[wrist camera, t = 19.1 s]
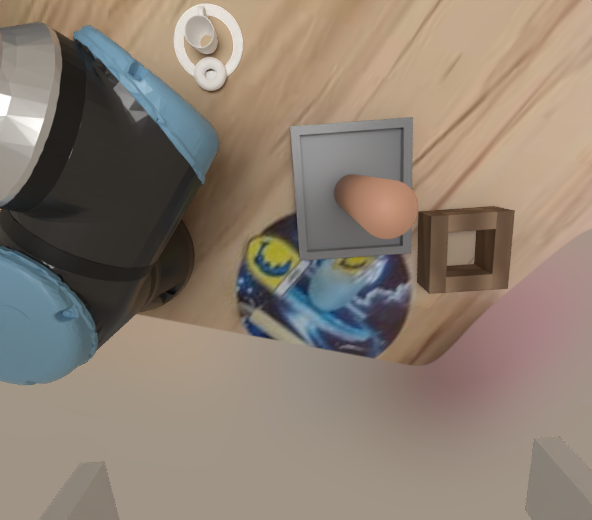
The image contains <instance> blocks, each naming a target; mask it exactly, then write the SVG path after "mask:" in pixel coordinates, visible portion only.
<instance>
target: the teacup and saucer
mask: <svg viewBox="0 0 592 520" xmlns="http://www.w3.org/2000/svg"><path fill="white" fill-rule="evenodd" d="M207 16H214V17H216V18H218V19H220V20H221V21H223V22H224V23H225V24H226V25H227V27H228V28H229V30H230V32H231V35H232V38H233V52H232V55H231V58H230V60H229V61H228V63H227V64H226V65H225V66H224V65H223V63H222V62H221V61H220V60H218V59H216V58H214V57H205V58H203V59H201V60H200V61H199V62H198V63H197V64H196V66H195V65H194V64H193V63H192V62H191V61H190V60H189V58H188V57H187V55H186V52H185V48H184V35H185V37H186V39H187V41H188V42H189V44H190V45H191V46H193V47H194V48H195V49H196V50H197V51H199V52H200V53H203V54H211V53H213V52H214V51H215V50H216V48H217V44H218V39H217V35H216V32H215V29H214V27H213V25H212V23H211V22H210V20H209V19H208V17H207ZM204 35H210V36H212V40H211V42H210V43H209V44H208V45H207V46H205V47H201V44H200V41H201V38H202V37H203V36H204ZM174 48H175V53H176V56H177V58H178V60H179V62H180V64H181V65H182V67H183V68H184V69H185V70H186V71H187V72H188V73H189V74H190V75H192V76H193V77H195V80H196V82H197V84H198V85H199V86H200V87H201V88H203V89H204V90H207V91H215V90H218V89H219V88H221V87H222V86H223V84H224V82H225V80H226V77H227V76H229V75H230V74H231V73H232V72H233V71H234V70H235V69H236V67H237V66H238V64H239V62H240V59H241V56H242V52H243V38H242V34H241V30H240V28H239V26H238V24H237V22H236V20H235V19H234V18H233V16H232V15H231V14H230V13H229V12H228V11H226V10H225V9H223V8H222V7H219V6H217V5H214V4H199V5H195V6H193V7H191V8H190V9H188V10H187V11H186V12H185V13H184V14H183V15H182V16H181V17H180V19H179V21H178V23H177V25H176V28H175V32H174ZM208 69H213V70H214V71H206V70H208Z"/></svg>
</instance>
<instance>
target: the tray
mask: <svg viewBox="0 0 592 520" xmlns="http://www.w3.org/2000/svg"><path fill="white" fill-rule="evenodd" d="M290 128H291V142H292V156H293V170H294V184H295V199H296V213H297V227H298V241H299V255H300V261H302V260H317V259H332V258H347V257H361V256H376V255H391V254H406V253H411V228H410V229H409V230H408V231H407V232H406V233H404V234H403V235H401V236H399V237H396V238H392V239H381V238H377V237H375V236H373V235H371V234H370V233H368V232H367V231H366V230H365V229H364V228H363V227H362V226H361V225H360V224H359V223H358V222H356V221H355V220H354V219H353V218H352V217H351V216H350V215H349V214H348V213H347V212H346V211H345V210H344V209H342V208H341V207H340V206H339V205H338V203H337V202H336V200H335V197H334V189H335V186H336V184H337V182H338V181H339V180H340V179H341V178H342V177H344V176H346V175H350V174H355V175H362V176H369V177H376V178H383V179H390V180H397V181H400V182H403V183H405V184H406V185H408V186H409V187H410V188H411V189H412V140H413V117H410V118H397V119H384V120H370V121H357V122H344V123H331V124H318V125H305V126H291V127H290Z"/></svg>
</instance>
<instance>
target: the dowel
mask: <svg viewBox="0 0 592 520" xmlns="http://www.w3.org/2000/svg"><path fill="white" fill-rule="evenodd" d="M334 197H335V200H336V202H337V203H338V205H339V206H340V207H341V208H342V209H344V210H345V211H346V212H347V213H348V214H349V215H350V216H351V217H352V218H353V219H354V220H355V221H356V222H358V223H359V224H360V225H361V226H362V227H363V228H364V229H365V230H366V231H367V232H368V233H370V234H371V235H373V236H375V237H377V238H381V239H392V238H396V237H399V236H401V235H403V234H404V233H406V232H407V231H408V230H409V229H410V228H411V227H412V225H413V224H414V222H415V220H416V217H417V214H418V201H417V198H416V195H415V193H414V192H413V190H412V189H411V188H410V187H409V186H408V185H406V184H405V183H403V182H400V181H397V180H390V179H383V178H376V177H369V176H362V175H355V174H350V175H346V176H344V177H342V178H341V179H340V180H339V181H338V182H337V184H336V186H335V189H334Z"/></svg>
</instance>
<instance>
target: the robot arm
mask: <svg viewBox="0 0 592 520" xmlns="http://www.w3.org/2000/svg"><path fill="white" fill-rule="evenodd" d="M73 40H74V41H72V40H70V39H68V38H67V37H65V36H64V35H62V34H60V33H59V32H57V31H55V30H54V29H52V28H51V27H49V26H47V25H46V24H44V23H40V22H34V23H28V24H22V25H16V26H10V27H4V28H1V27H0V208H1V209H2V210H1V212H0V381H3V382H7V383H12V384H18V385H33V384H36V383H50V382H53V381H55V380H58V379H60V378H62V377H64V376H66V375H67V374H69V373H70V372H71V371H73V370H74V369H75V368H77V367H78V366H80V365H82V364H84V363H86V362H88V360H89V359H90V358H92V357H93V355H94V354H95V352H96V351H97V350H98V349H99V348H100V347H101V346H102V345H103V344H104V343H105V342H106V341H107V340H108V339H109V338H110V337H111V336H113V334H115V333H116V332H117V331H118V330H119V329H120V328H121V327H122V326H123V325H124V324H126V323H127V322H128V321H129V320H130V319H131V318H132V317H133V316H134V315H135V314H137V313H138V312H142V311H147V310H151V309H155V308H157V307H160V306H162V305H164V304H166V303H167V302H169V301H170V300H172V299H173V298H174V297H175V296H176V295H177V294H178V293H179V292H180V291H181V290H182V289H183V287H184V286H185V285H186V283H187V282H188V280H189V278H190V276H191V273H192V270H193V265H194V248H193V243H192V240H191V237H190V234H189V232H188V230H187V228H186V227H185V225H184V223H183V222H182V221H181V218H182V217H183V215H184V213H185V212H186V210H187V208H188V206H189V205H190V203H191V201H192V199H193V198H194V196H195V194H196V192H197V191H198V189H199V187H200V186H201V185H203V184H204V183H205V179H206V178H205V175H206V173H207V172H208V170H209V168H210V166H211V164H212V162H213V160H214V158H215V156H216V154H217V152H218V148H219V139H218V134H217V132H216V130H215V128H214V127H213V125H212V124H211V123H210V122H209V121H208V120H207V119H206V118H205V117H204V116H203V115H202V114H200V113H199V112H198V111H197V110H196V109H195V108H194V107H193V106H192V105H190V104H189V103H188V102H187V101H186V100H185V99H184V98H182V97H181V96H180V95H179V94H178V93H176V92H175V91H174V90H173V89H172V88H170V87H169V86H168V85H167V84H166V83H165V82H163V81H162V80H161V79H160V78H158V77H157V76H156V75H155V74H153V73H152V72H151V71H149V70H147V69H146V68H144V66H143V65H142V64H141V63H139V62H138V61H137V60H136V59H134V58H133V57H132V56H131V55H130V54H129V53H128V52H126V51H125V50H124V49H123V48H121V47H120V46H119V45H118V44H116V43H115V42H114V41H112V40H111V39H110V38H109V37H107V36H106V35H105V34H103V33H102V32H100V31H99V30H98V29H96V28H94V27H93V26H90V25H85V26H83V27H82V28H81V29H80V31H76V32H74V36H73ZM525 510H526V511H527V513H528V514H529V516H530V517H531V519H532V520H592V469H591V468H590V467H589V466H588V465H587V464H586V463H585V462H584V461H583V460H582V459H581V458H580V457H579V456H578V455H577V454H576V453H575V452H574V451H573V449H571V447H570V446H569V445H567V443H566V442H565V441H564V440H563V439H562V438H561V437H560V436H558V437H541V438H534V442H533V450H532V459H531V466H530V474H529V482H528V491H527V498H526V506H525ZM39 520H119V516H118V512H117V508H116V504H115V500H114V496H113V493H112V489H111V485H110V481H109V477H108V473H107V469H106V466H105V462H85V463H80V464H79V465H78V466H77V468H76V469H75V471H74V472H73V473H72V475H71V476H70V477H69V479H68V480H67V481H66V483H65V484H64V485H63V487H62V488H61V490H60V491H59V492H58V494H57V495H56V496H55V498H54V499H53V501H52V502H51V503H50V505H49V506H48V507H47V509H46V510H45V511H44V513H43V514H42V515H41V517H40V518H39Z"/></svg>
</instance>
